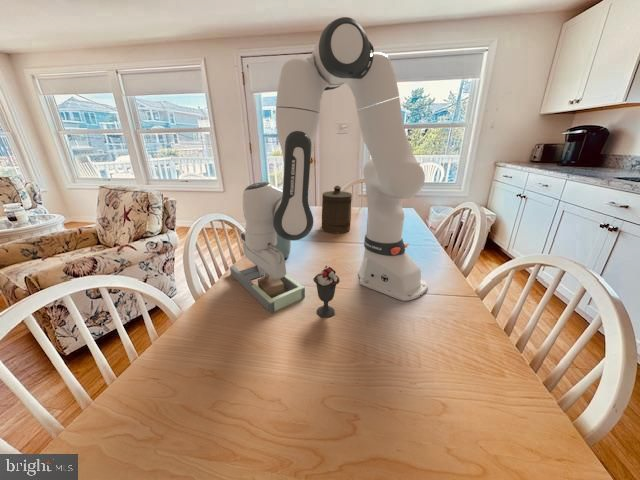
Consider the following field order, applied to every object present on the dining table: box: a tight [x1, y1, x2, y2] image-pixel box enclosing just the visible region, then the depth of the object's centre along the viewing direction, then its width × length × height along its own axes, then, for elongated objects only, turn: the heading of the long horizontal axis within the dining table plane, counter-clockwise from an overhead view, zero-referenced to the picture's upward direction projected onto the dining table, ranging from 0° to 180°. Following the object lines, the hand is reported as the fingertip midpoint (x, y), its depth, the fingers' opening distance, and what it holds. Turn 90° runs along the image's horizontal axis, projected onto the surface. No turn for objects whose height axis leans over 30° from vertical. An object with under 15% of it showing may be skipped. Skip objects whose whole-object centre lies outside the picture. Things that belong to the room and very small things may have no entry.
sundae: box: [312, 265, 340, 319], centre depth 66 cm, size 7×7×15 cm
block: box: [257, 276, 285, 298], centre depth 77 cm, size 6×6×4 cm
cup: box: [275, 234, 292, 259], centre depth 99 cm, size 8×8×10 cm
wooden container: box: [321, 185, 353, 234], centre depth 128 cm, size 15×15×22 cm
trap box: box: [229, 265, 306, 314], centre depth 80 cm, size 27×11×4 cm, turn 40°
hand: (265, 279), depth 80 cm, fingers closed
